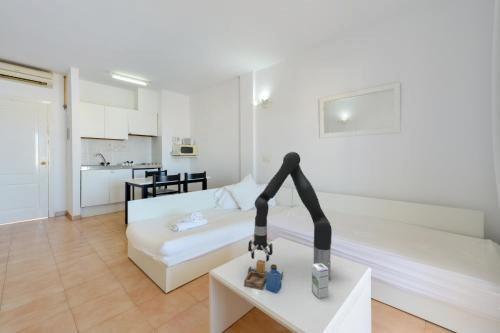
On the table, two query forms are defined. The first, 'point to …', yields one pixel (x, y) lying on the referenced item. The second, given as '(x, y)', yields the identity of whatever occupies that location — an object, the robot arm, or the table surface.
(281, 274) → the rail
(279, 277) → the perfume bottle
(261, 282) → the tray
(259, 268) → the tan rectangular block
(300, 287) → the table surface
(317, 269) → the syrup box
